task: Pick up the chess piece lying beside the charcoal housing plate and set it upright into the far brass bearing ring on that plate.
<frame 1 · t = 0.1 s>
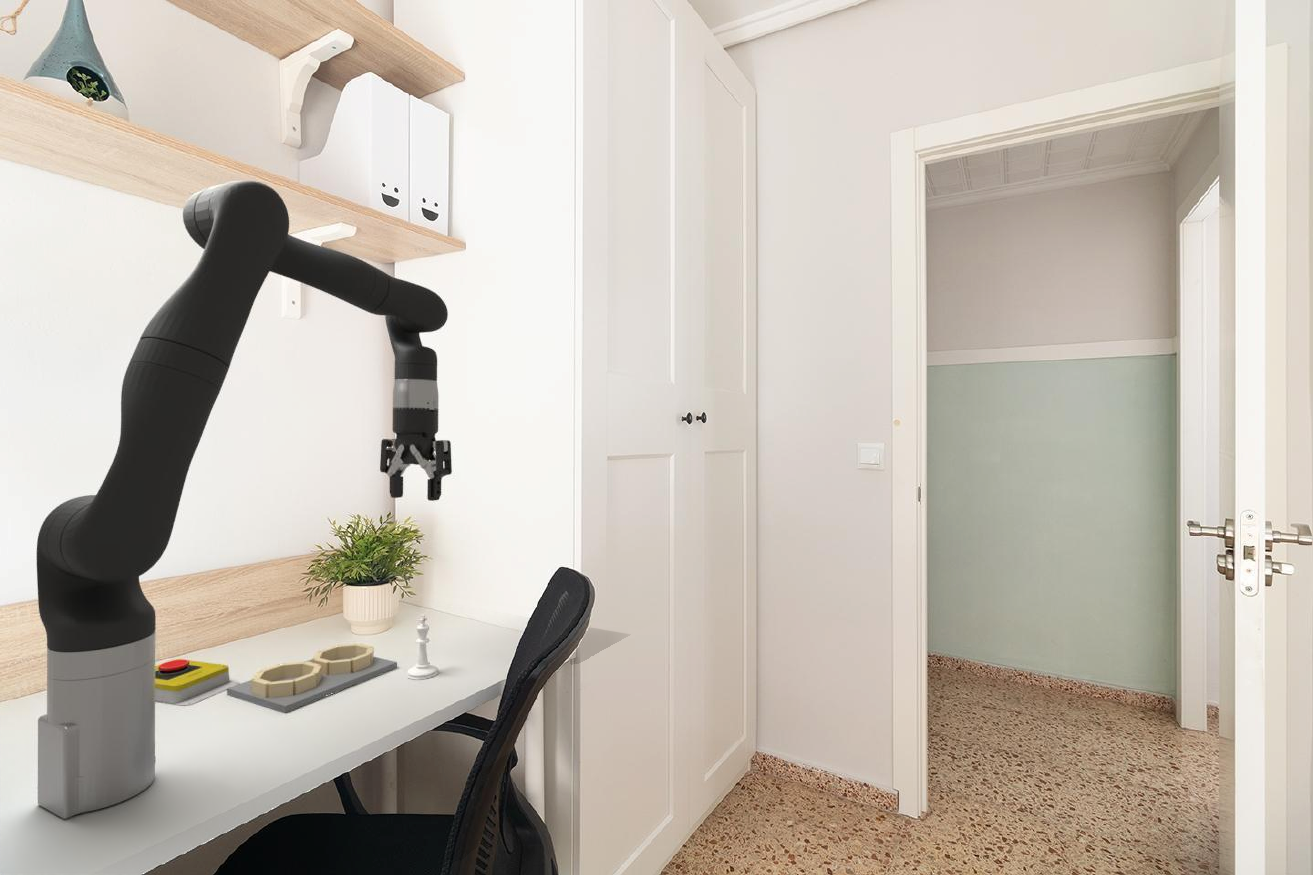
hand: (415, 498, 112), 29 cm above the table, tool pointing down, fingers open, 8 cm apart
emergency button: (178, 693, 100), on the table
housing: (316, 680, 104), on the table
chess piece: (422, 675, 107), on the table
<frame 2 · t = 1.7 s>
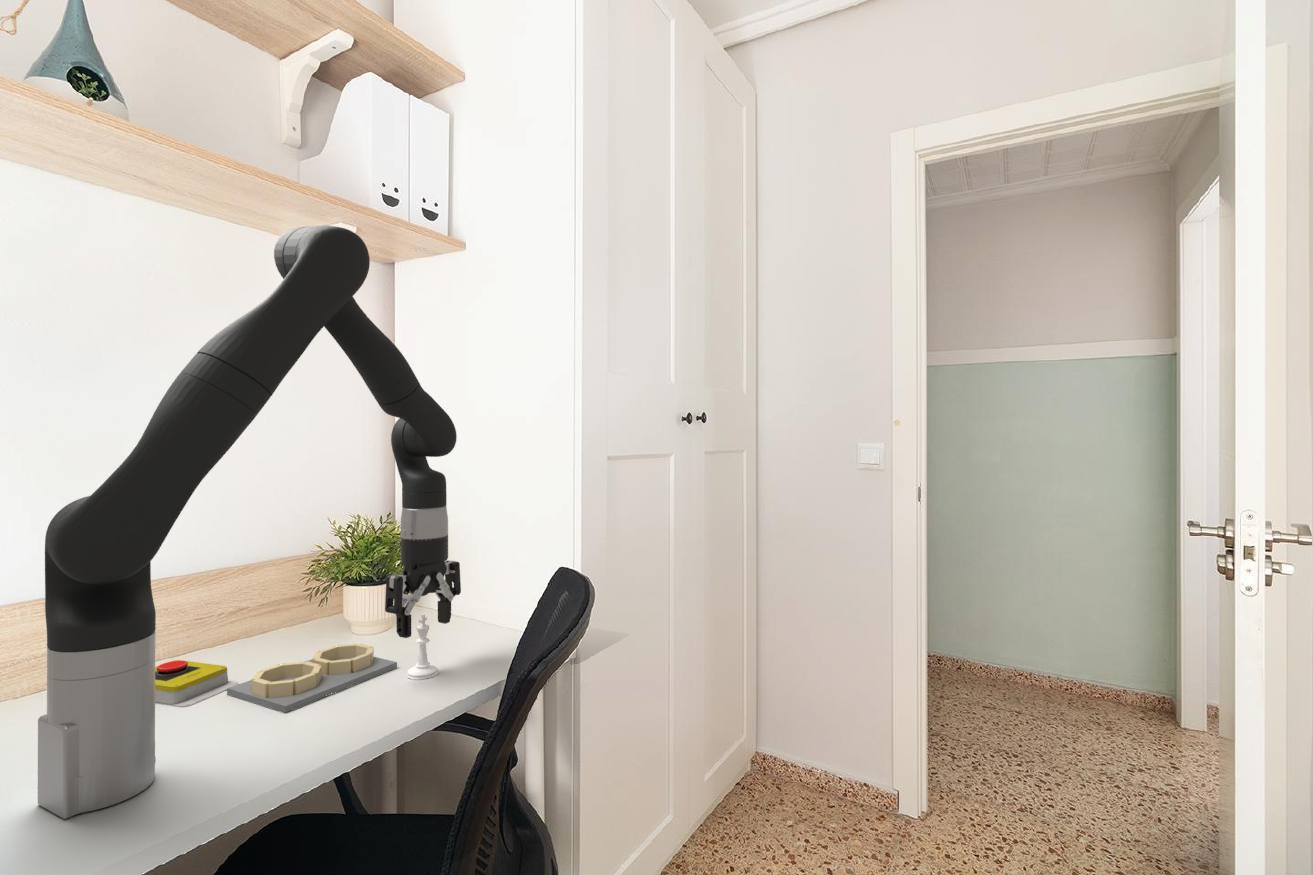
hand: (425, 629, 107), 7 cm above the table, tool pointing down, fingers open, 8 cm apart
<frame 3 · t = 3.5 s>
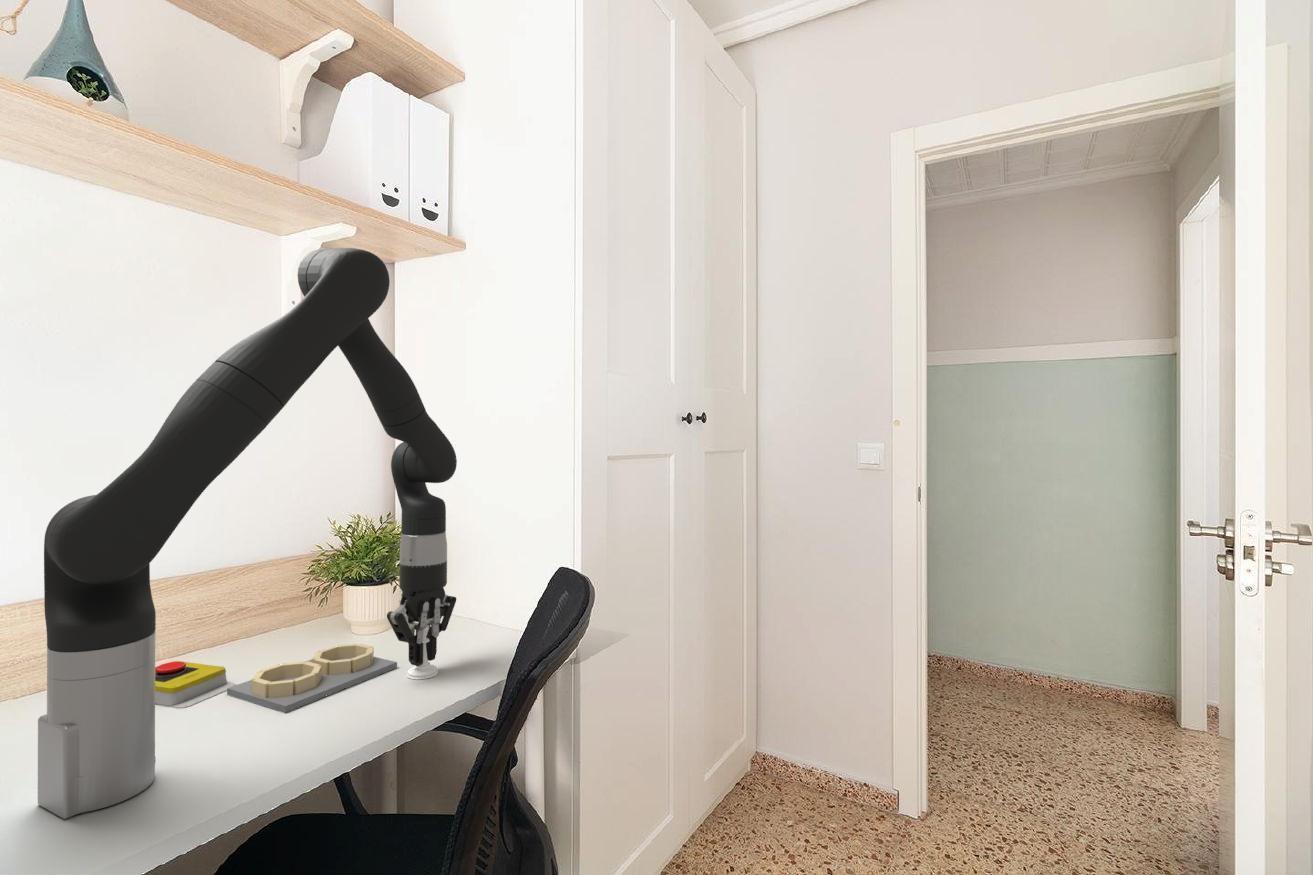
hand: (422, 661, 107), 2 cm above the table, tool pointing down, fingers closed on chess piece
chess piece: (422, 675, 107), on the table, touching gripper
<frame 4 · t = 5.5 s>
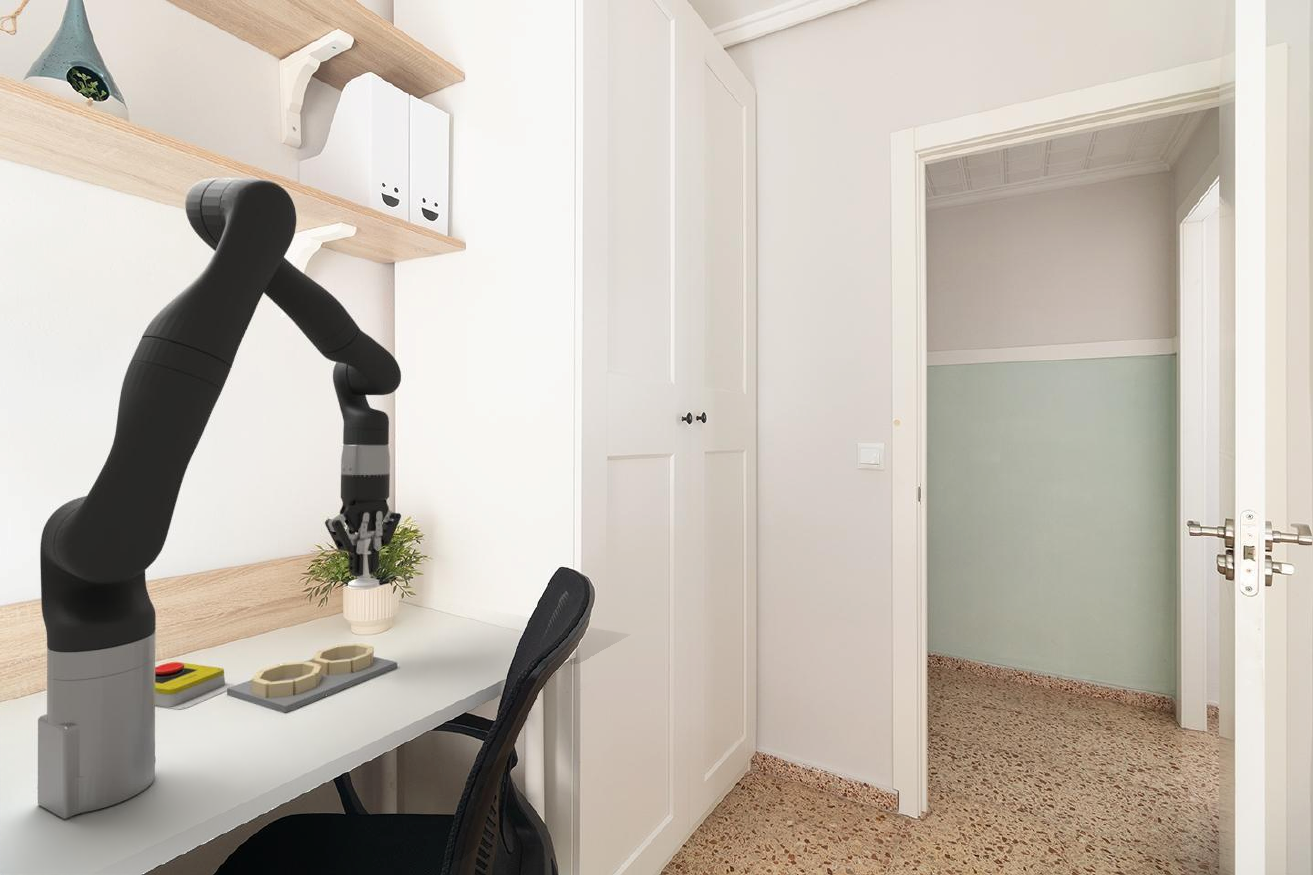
hand: (363, 573, 108), 17 cm above the table, tool pointing down, fingers closed on chess piece
chess piece: (363, 587, 108), point 14 cm above the table, touching gripper
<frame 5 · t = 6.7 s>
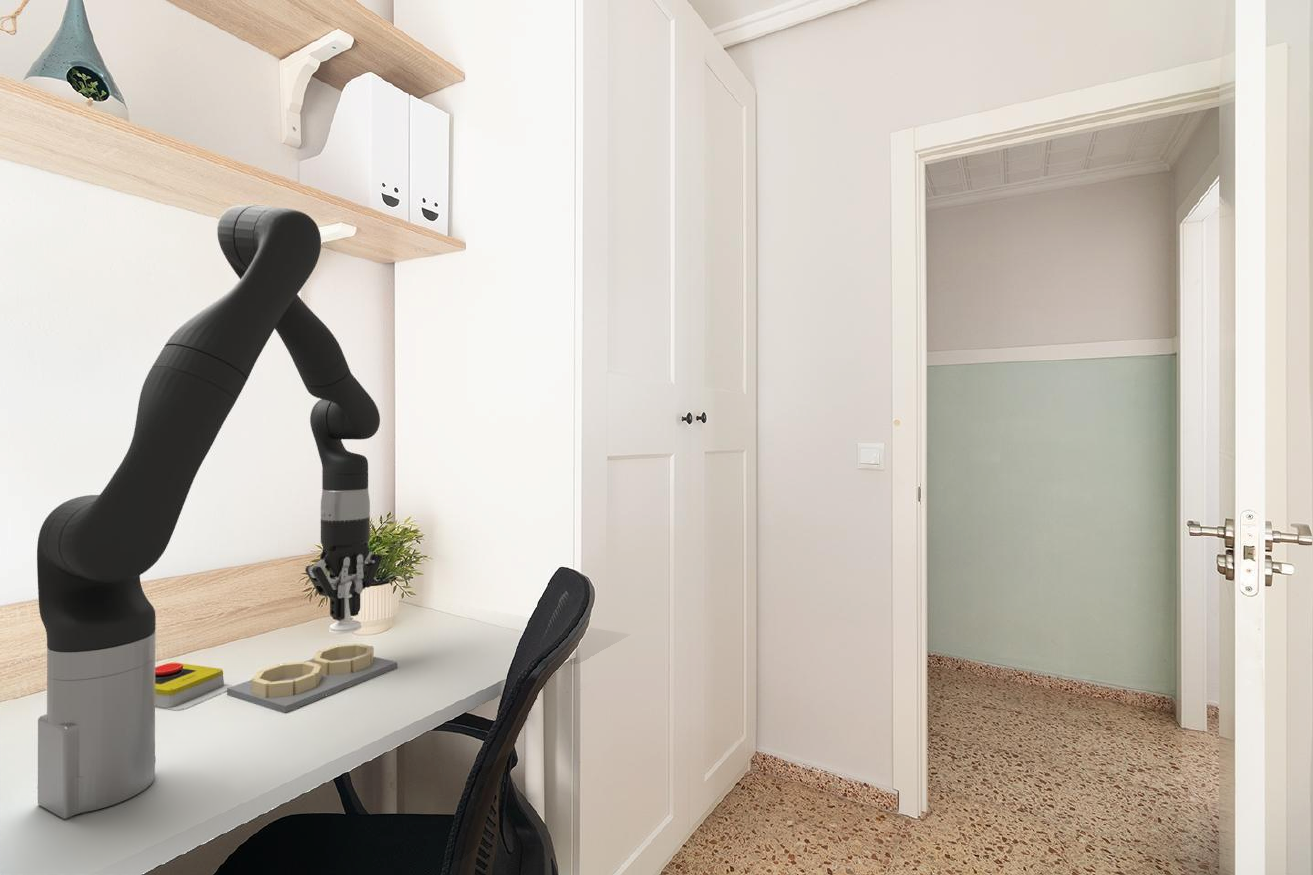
hand: (345, 616, 109), 9 cm above the table, tool pointing down, fingers closed on chess piece
chess piece: (345, 630, 109), point 7 cm above the table, touching gripper
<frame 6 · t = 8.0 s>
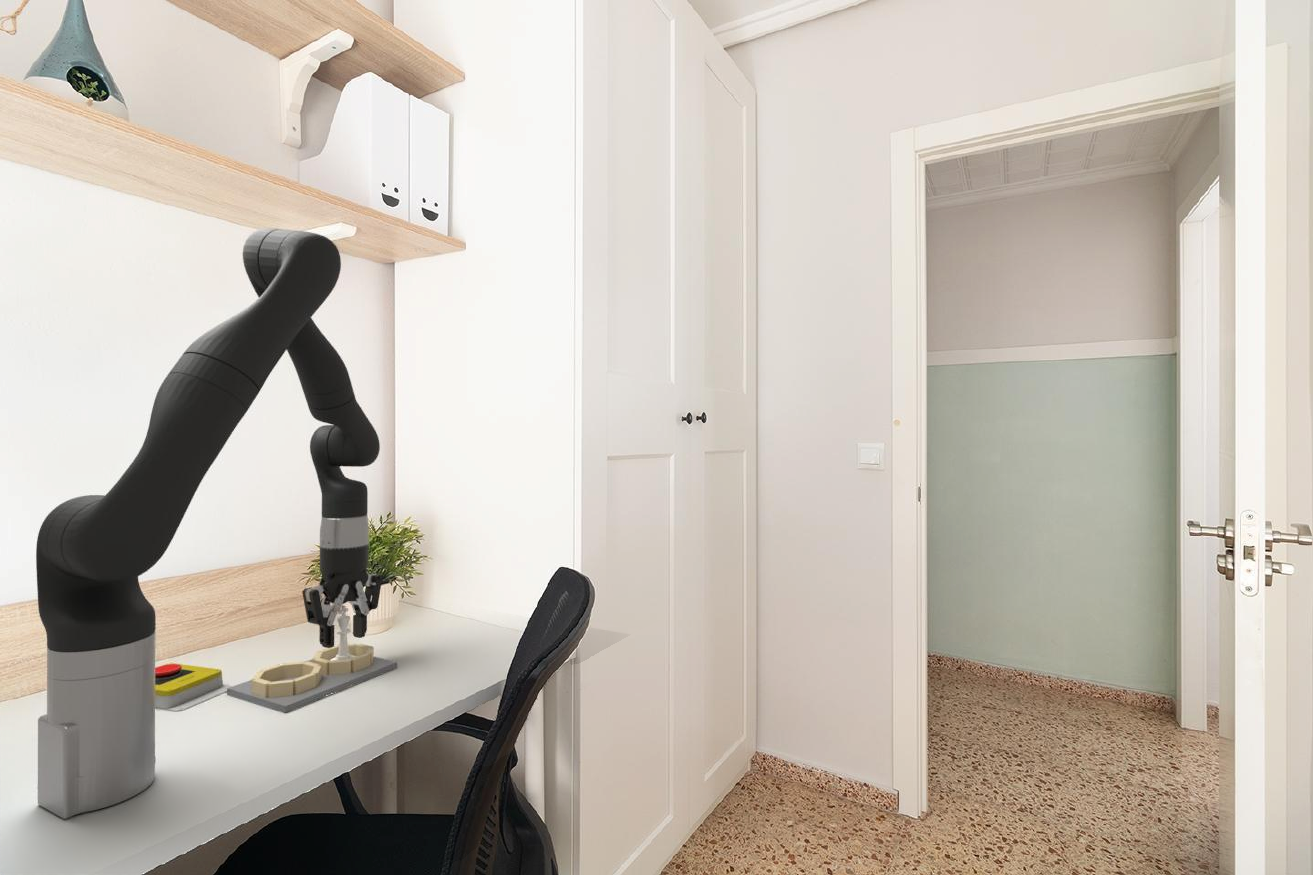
hand: (344, 641, 109), 5 cm above the table, tool pointing down, fingers open, 5 cm apart
chess piece: (343, 665, 108), point 1 cm above the table, touching housing
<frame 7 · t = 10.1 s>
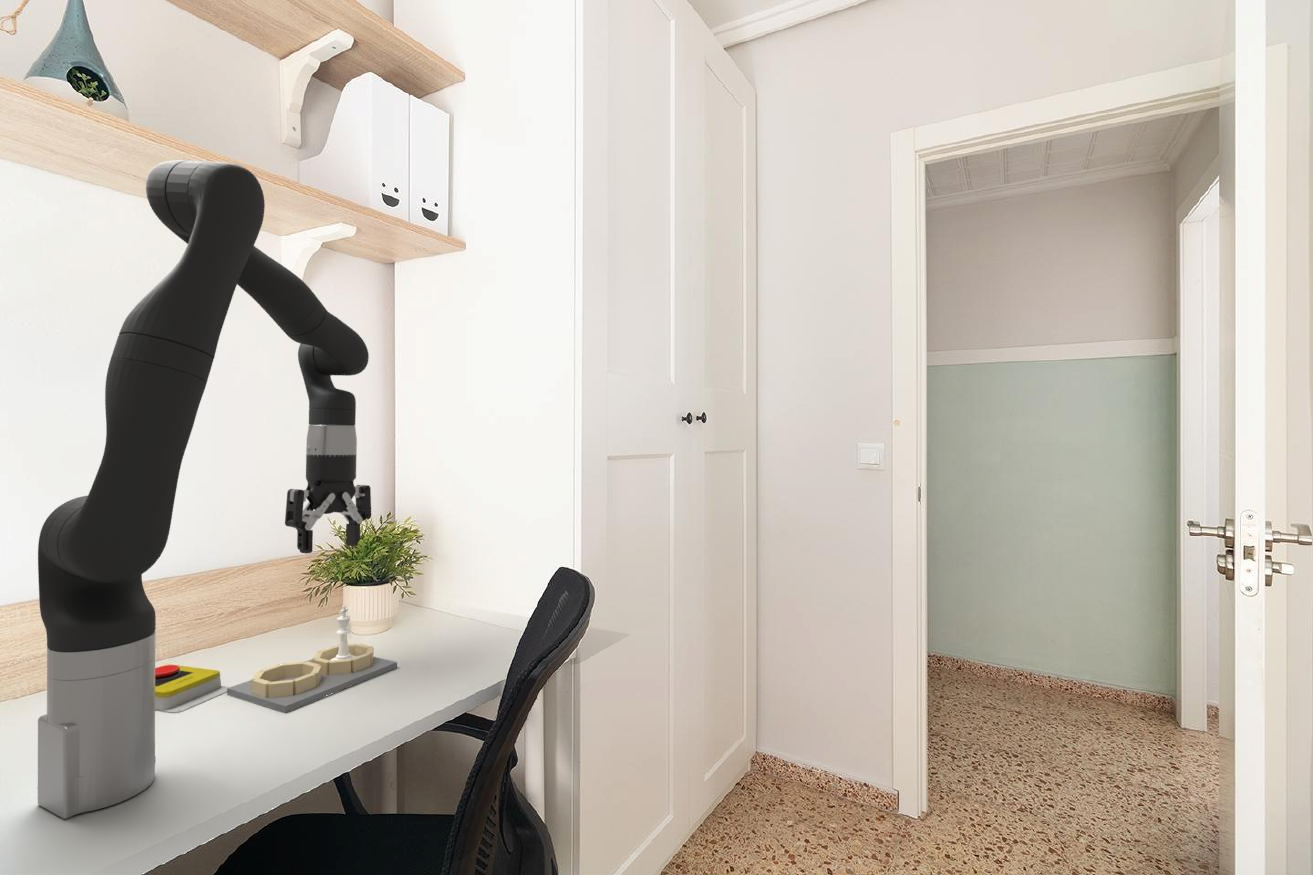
hand: (329, 549, 107), 21 cm above the table, tool pointing down, fingers open, 8 cm apart
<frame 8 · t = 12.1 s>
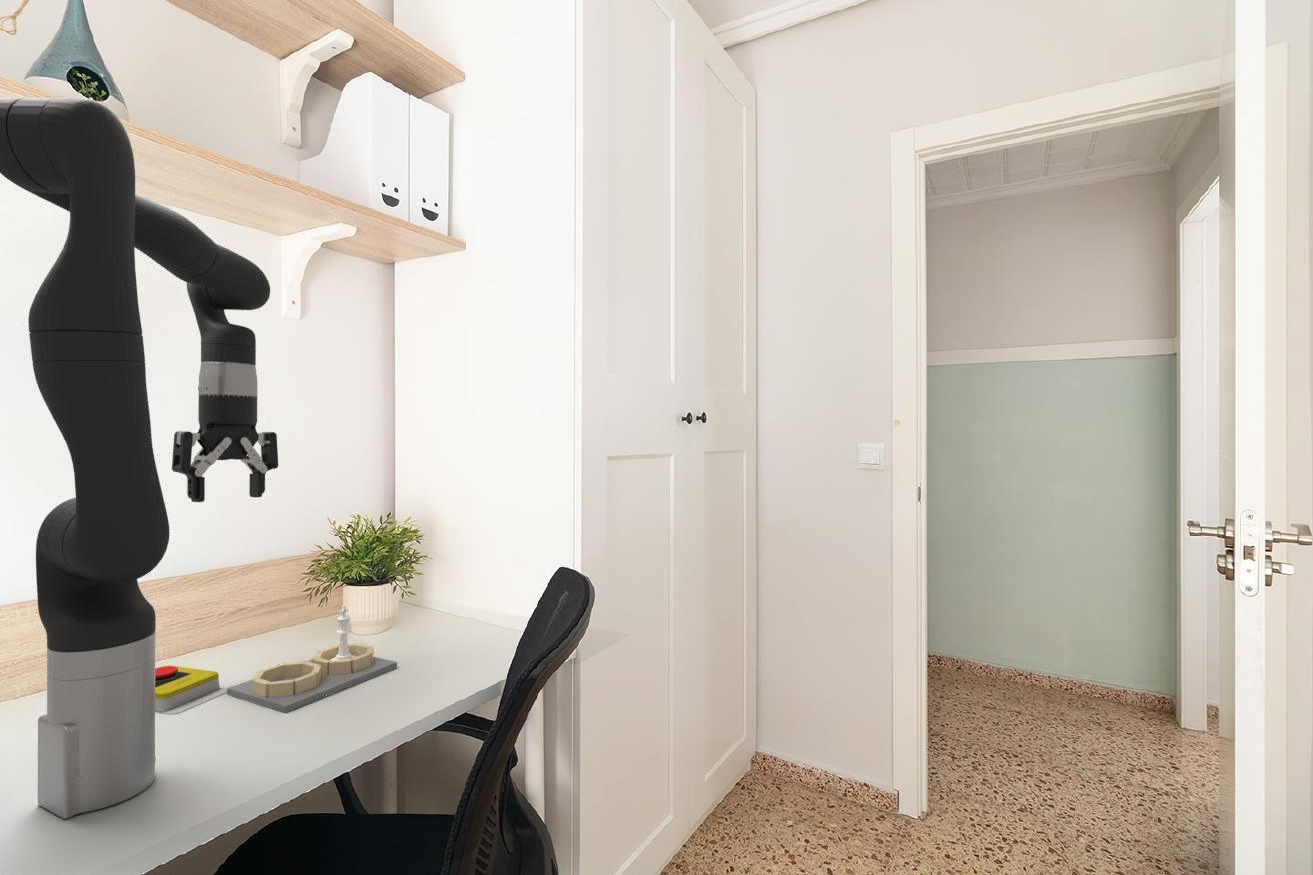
hand: (228, 499, 98), 30 cm above the table, tool pointing down, fingers open, 8 cm apart
at the end: chess piece 0.1 cm from the target spot on the housing, point 0.8 cm above the housing's base; chess piece tilted 0°; the gripper is holding nothing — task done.
